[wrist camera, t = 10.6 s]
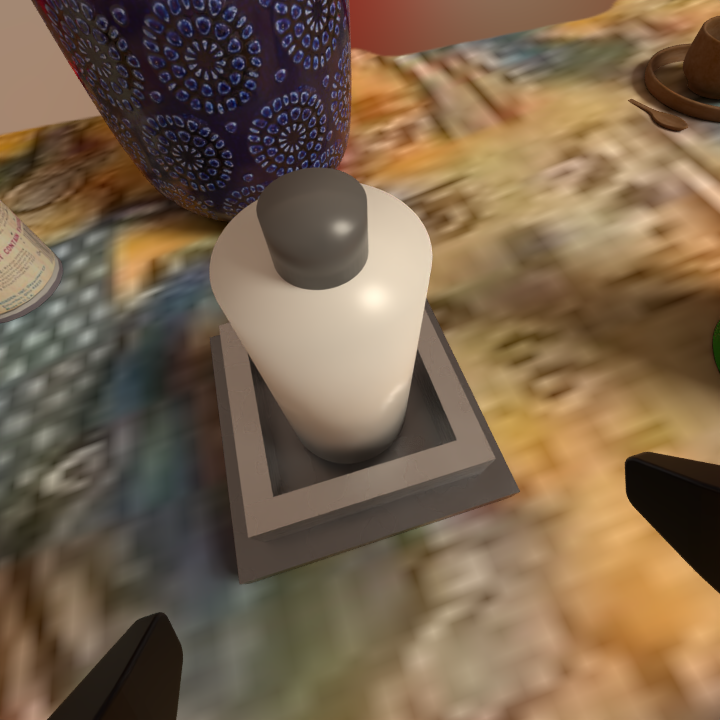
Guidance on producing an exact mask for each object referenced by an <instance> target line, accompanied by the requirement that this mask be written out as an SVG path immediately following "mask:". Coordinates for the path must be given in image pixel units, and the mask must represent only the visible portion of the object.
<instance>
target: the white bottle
mask: <svg viewBox="0 0 720 720" xmlns="http://www.w3.org/2000/svg"><path fill="white" fill-rule="evenodd" d="M431 266H432V246H431V242H430V238H429V235H428V233H427V231H426V228H425V226H424V225H423V223H422V222H421V220H420V219H419V217H418V216H417V215H416V214H415V213H414V212H413V211H412V209H410V208H409V207H408V206H407V205H406V204H405V203H403V202H402V201H400V200H399V199H397V198H396V197H394V196H393V195H391V194H389V193H387V192H385V191H383V190H380V189H377V188H375V187H372V186H368V185H364V184H361V183H359V182H358V181H357V180H356V179H355V178H353V177H352V176H350V175H349V174H347V173H344V172H342V171H339V170H335V169H330V168H320V167H318V168H305V169H300V170H296V171H292V172H290V173H287V174H285V175H283V176H281V177H279V178H277V179H276V180H274V181H273V182H271V183H270V184H269V185H268V186H267V187H266V188H265V189H264V190H263V192H262V193H261V195H260V197H259V199H258V200H256V201H255V202H253V203H251V204H250V205H249V206H247V207H246V208H244V209H243V210H242V211H241V212H240V213H238V214H237V215H236V216H235V217H234V218H233V219H232V220H231V221H230V223H229V224H228V225H227V226H226V227H225V229H224V230H223V232H222V233H221V235H220V236H219V238H218V240H217V242H216V244H215V246H214V249H213V252H212V256H211V261H210V268H209V270H210V282H211V286H212V291H213V293H214V295H215V298H216V300H217V302H218V304H219V305H220V307H221V309H222V310H223V312H224V314H225V315H226V317H227V319H228V320H229V322H230V324H231V326H232V327H233V329H234V331H235V332H236V334H237V336H238V337H239V339H240V341H241V342H242V344H243V346H244V347H245V349H246V351H247V352H248V354H249V356H250V358H251V359H252V361H253V363H254V364H255V366H256V368H257V369H258V371H259V373H260V374H261V376H262V378H263V379H264V381H265V383H266V384H267V386H268V388H269V390H270V391H271V393H272V395H273V396H274V398H275V400H276V401H277V403H278V405H279V406H280V408H281V410H282V411H283V413H284V415H285V416H286V418H287V420H288V422H289V423H290V425H291V427H292V428H293V430H294V432H295V433H296V435H297V437H298V438H299V440H300V441H301V443H302V444H303V445H304V446H305V447H306V448H307V449H308V450H309V451H311V452H312V453H313V454H315V455H316V456H318V457H320V458H322V459H324V460H327V461H331V462H335V463H342V464H351V463H358V462H362V461H366V460H369V459H371V458H373V457H375V456H377V455H379V454H380V453H382V452H383V451H384V450H386V449H387V448H388V447H389V446H390V445H391V444H392V443H393V442H394V440H395V439H396V438H397V436H398V434H399V433H400V431H401V428H402V426H403V423H404V419H405V414H406V409H407V403H408V397H409V392H410V386H411V380H412V375H413V369H414V363H415V358H416V352H417V346H418V341H419V335H420V329H421V324H422V318H423V312H424V307H425V301H426V295H427V290H428V284H429V279H430V273H431Z"/></svg>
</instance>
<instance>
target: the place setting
mask: <svg viewBox="0 0 720 720" xmlns="http://www.w3.org/2000/svg"><path fill="white" fill-rule="evenodd" d="M678 61H684V62H683V72H684V75H685V77H686V78H687V80H688V88H689V89H690V90H691V91H692V92H694V93H695V94H697V95H700V96H702V97H706V98H710V99H720V16H716V17H713V18H711V19H709V20H707V21H706V22H705V23H704V24H703V26H702V27H701V29H700V31H699V32H698V34H697V36H696V37H695V39H694V41H693V42H692V44H682V45H676V46H672V47H668V48H665V49H663V50H661V51H659V52H657V53H656V54H655V55H653V57H652V58H651V59H650V61H649V63H648V65H647V68H646V71H645V84H646V87H647V89H648V90H649V92H650V93H651V94H652V95H653V96H654V97H655V98H656V99H657V100H658V101H660V102H661V103H663V104H664V105H666V106H668V107H670V108H671V109H673V110H676V111H678V112H680V113H683V114H686V115H688V116H692V117H695V118H699V119H703V120H708V121H714V122H720V107H717V106H712V105H707V104H704V103H700V102H697V101H694V100H691V99H688V98H686V97H684V96H681V95H679V94H677V93H675V92H674V91H672V90H670V89H669V88H667V87H666V86H665V85H663V84H662V83H661V82H660V81H659V80H658V79H657V77H656V76H655V74H654V71H655V70H657V69H658V68H660V67H661V66H664V65H666V64H669V63H673V62H678ZM628 101H629V102H631V103H632V104H634V105H636V106H637V107H639V108H641V109H643V110H645V111H647V112H648V113H649V114H650V115H651V117H652V119H653V120H654V121H655V122H656V123H657V124H659V125H660V126H662V127H664V128H667V129H670V130H675V131H680V130H684V129H686V128H688V125H687V123H686V122H685V121H684V120H682V119H681V118H679V117H677V116H675V115H671V114H667V113H663V112H659V111H656V110H654V109H652V108H649V107H647V106H645V105H643V104H641V103H639V102H637V101H635V100H633V99H630V100H628Z"/></svg>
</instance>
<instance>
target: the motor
mask: <svg viewBox="0 0 720 720" xmlns="http://www.w3.org/2000/svg"><path fill="white" fill-rule="evenodd" d="M713 352H714V357H715V361H716V364H717V367H718V369H719V371H720V320H719V322H718V324H717V326H716V328H715V331H714V335H713Z"/></svg>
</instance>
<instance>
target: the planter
mask: <svg viewBox="0 0 720 720" xmlns="http://www.w3.org/2000/svg"><path fill="white" fill-rule="evenodd" d="M31 1H32V2H33V4H34V5H35V7H36V9H37V11H38V12H39V14H40V16H41V17H42V19H43V20H44V22H45V24H46V26H47V27H48V29H49V30H50V32H51V34H52V36H53V38H54V39H55V41H56V42H57V44H58V46H59V48H60V49H61V51H62V52H63V54H64V56H65V58H66V59H67V61H68V63H69V64H70V66H71V68H72V69H73V71H74V72H75V74H76V76H77V77H78V79H79V80H80V82H81V83H82V85H83V87H84V88H85V90H86V91H87V93H88V94H89V96H90V98H91V99H92V101H93V103H94V104H95V105H96V107H97V109H98V110H99V112H100V114H101V115H102V117H103V118H104V120H105V122H106V123H107V125H108V126H109V128H110V129H111V131H112V132H113V134H114V135H115V137H116V138H117V139H118V141H119V142H120V144H121V145H122V147H123V148H124V150H125V151H126V152H127V154H128V155H129V157H130V158H131V159H132V161H133V162H134V163H135V165H136V166H137V167H138V169H139V170H140V171H141V173H142V174H143V175H144V176H145V177H146V179H147V180H148V181H149V182H150V183H151V184H152V185H153V186H154V187H155V188H156V189H157V190H158V191H159V192H160V193H161V194H163V195H164V196H165V197H167V198H168V199H170V200H171V201H173V202H174V203H176V204H178V205H179V206H181V207H183V208H185V209H187V210H189V211H191V212H193V213H196V214H198V215H201V216H204V217H207V218H211V219H215V220H219V221H225V222H230V221H231V220H232V219H233V218H234V217H235V216H236V215H237V214H238V213H240V212H241V211H242V210H243V209H244V208H246V207H247V206H249V205H250V204H251V203H253V202H255V201H256V200H258V199H259V197H260V195H261V193H262V192H263V190H264V189H265V188H266V187H267V186H268V185H269V184H270V183H271V182H273V181H274V180H276V179H277V178H279V177H281V176H283V175H285V174H287V173H290V172H292V171H296V170H300V169H305V168H318V167H320V168H330V169H335V170H337V169H338V167H339V165H340V162H341V160H342V158H343V156H344V153H345V151H346V147H347V143H348V137H349V131H350V118H351V78H352V76H351V44H350V13H349V0H31Z"/></svg>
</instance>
